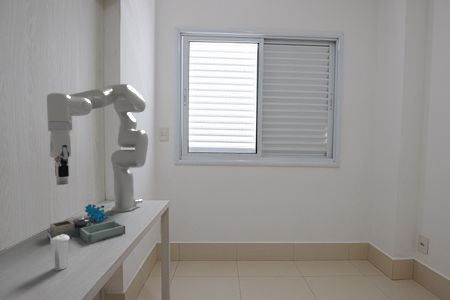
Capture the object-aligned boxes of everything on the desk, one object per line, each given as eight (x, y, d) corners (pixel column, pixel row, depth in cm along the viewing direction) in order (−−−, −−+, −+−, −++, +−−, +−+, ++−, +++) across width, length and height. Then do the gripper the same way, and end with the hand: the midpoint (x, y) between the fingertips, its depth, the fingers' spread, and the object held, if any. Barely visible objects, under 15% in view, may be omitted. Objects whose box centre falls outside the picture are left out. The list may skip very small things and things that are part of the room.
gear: (96, 221, 105) (82, 204, 107) (86, 231, 106) (73, 213, 107) (112, 217, 116) (99, 201, 118) (103, 226, 116) (90, 210, 118)
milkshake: (54, 264, 72) (53, 230, 71) (73, 263, 72) (72, 229, 72) (44, 272, 67) (43, 236, 67) (64, 271, 68) (63, 235, 67)
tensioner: (88, 227, 103) (87, 214, 103) (94, 232, 97) (94, 218, 97) (47, 237, 93) (46, 222, 93) (52, 242, 87) (52, 227, 87)
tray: (114, 227, 103) (114, 220, 102) (125, 233, 96) (125, 225, 96) (79, 236, 93) (79, 228, 93) (89, 243, 86) (88, 235, 86)
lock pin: (67, 182, 96) (66, 156, 95) (70, 183, 93) (69, 157, 92) (53, 184, 92) (52, 157, 92) (56, 185, 89) (55, 158, 89)
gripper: (43, 128, 95) (45, 175, 95) (53, 125, 83) (55, 179, 84) (65, 128, 100) (67, 173, 101) (78, 126, 89) (80, 177, 89)
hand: (62, 175), depth 92 cm, fingers closed on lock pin, 3 cm apart
